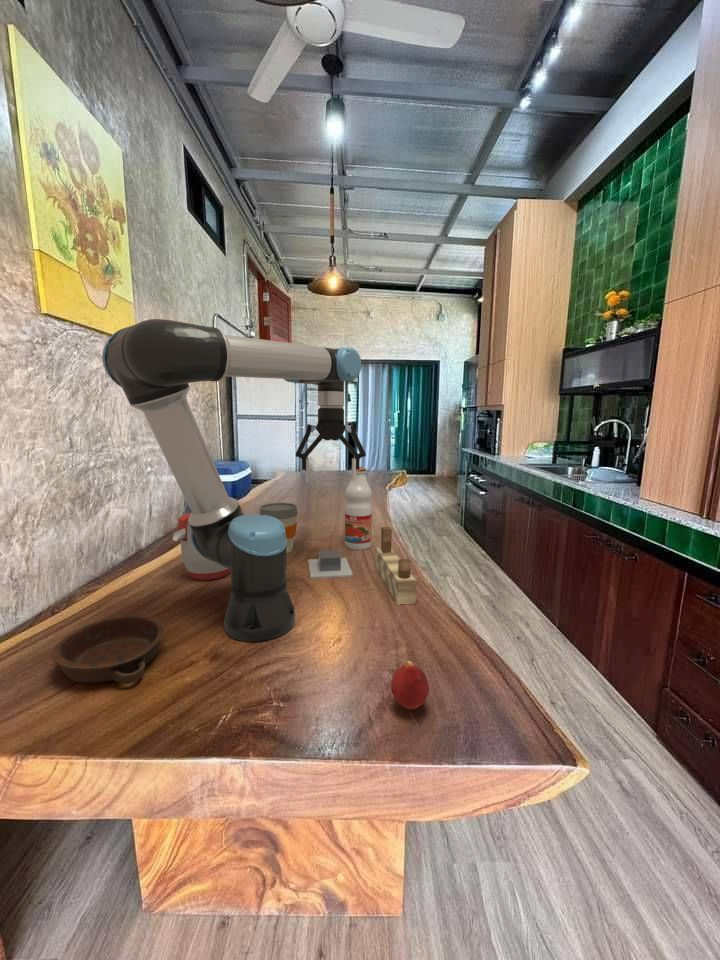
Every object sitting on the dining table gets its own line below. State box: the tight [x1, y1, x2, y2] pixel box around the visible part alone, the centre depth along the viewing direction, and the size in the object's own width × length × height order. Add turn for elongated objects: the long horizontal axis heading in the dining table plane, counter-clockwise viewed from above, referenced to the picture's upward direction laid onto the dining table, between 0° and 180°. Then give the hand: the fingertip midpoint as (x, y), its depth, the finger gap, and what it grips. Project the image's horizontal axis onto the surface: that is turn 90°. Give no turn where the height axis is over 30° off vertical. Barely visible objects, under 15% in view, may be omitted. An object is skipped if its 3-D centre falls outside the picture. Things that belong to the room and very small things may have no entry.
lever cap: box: [317, 549, 342, 572], centre depth 120 cm, size 7×6×4 cm
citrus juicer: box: [172, 512, 231, 581], centre depth 114 cm, size 16×17×20 cm
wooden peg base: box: [374, 526, 418, 606], centre depth 110 cm, size 26×5×13 cm, turn 10°
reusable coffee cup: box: [259, 502, 298, 554], centre depth 136 cm, size 13×13×15 cm
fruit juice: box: [344, 466, 373, 551], centre depth 139 cm, size 9×9×28 cm
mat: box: [307, 557, 354, 580], centre depth 121 cm, size 14×12×1 cm
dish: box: [51, 614, 166, 685], centre depth 74 cm, size 18×22×5 cm
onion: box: [390, 660, 430, 711], centre depth 63 cm, size 6×6×8 cm
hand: (330, 481), depth 118 cm, fingers open, 13 cm apart
